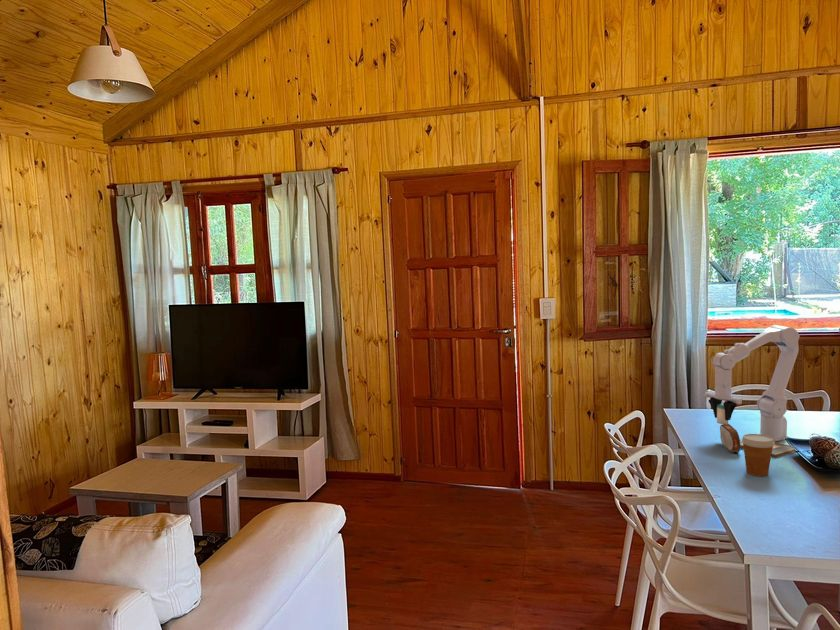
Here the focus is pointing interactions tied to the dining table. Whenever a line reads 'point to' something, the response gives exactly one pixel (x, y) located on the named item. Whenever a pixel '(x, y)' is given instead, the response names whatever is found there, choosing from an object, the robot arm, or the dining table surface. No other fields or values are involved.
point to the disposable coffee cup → (757, 453)
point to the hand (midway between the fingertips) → (722, 418)
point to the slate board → (778, 449)
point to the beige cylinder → (721, 414)
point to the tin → (730, 438)
